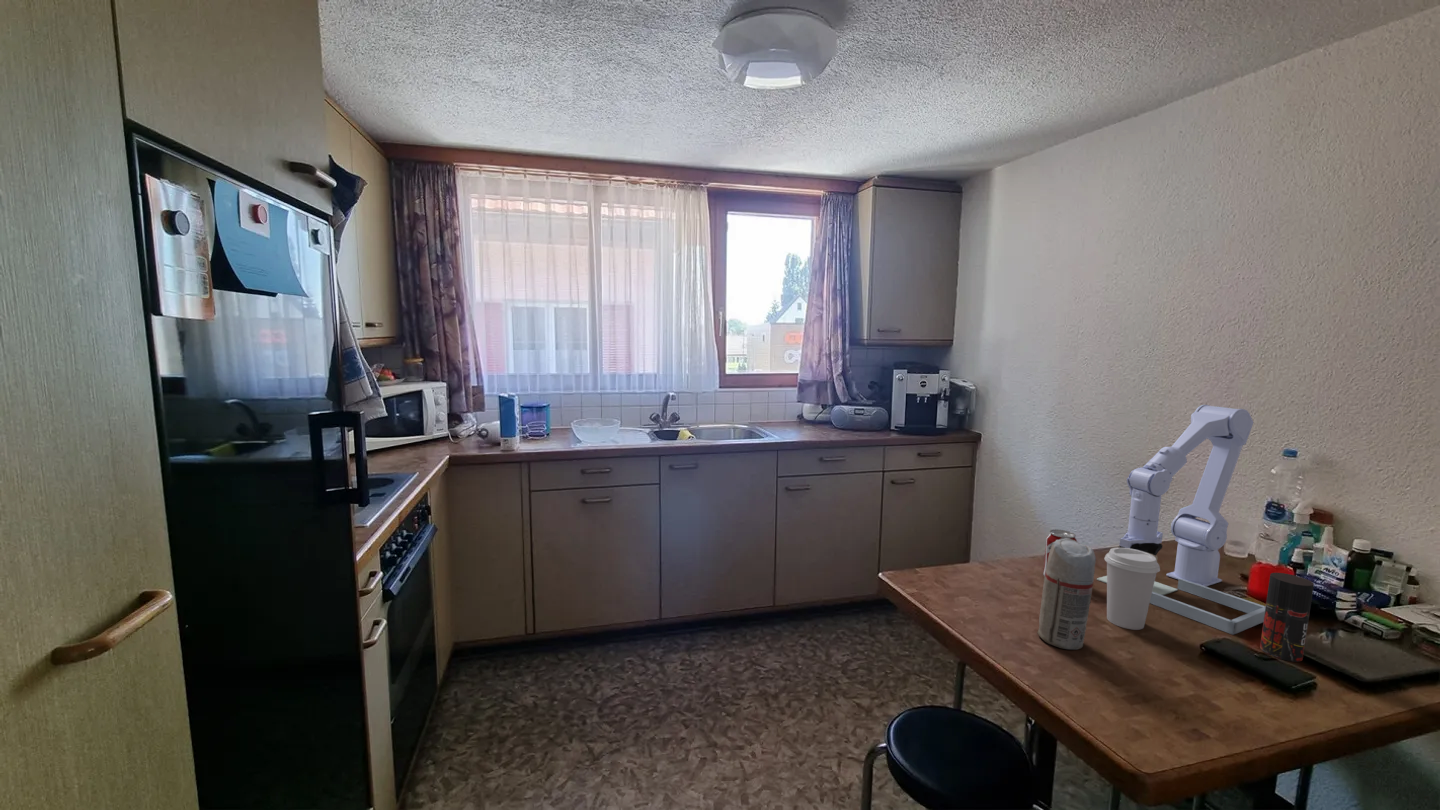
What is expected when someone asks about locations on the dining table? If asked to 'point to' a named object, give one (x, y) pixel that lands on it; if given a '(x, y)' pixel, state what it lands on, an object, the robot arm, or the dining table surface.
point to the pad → (1157, 587)
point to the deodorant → (1286, 616)
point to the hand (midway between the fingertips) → (1137, 571)
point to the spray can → (1066, 594)
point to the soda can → (1052, 538)
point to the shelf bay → (1210, 619)
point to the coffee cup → (1129, 586)
